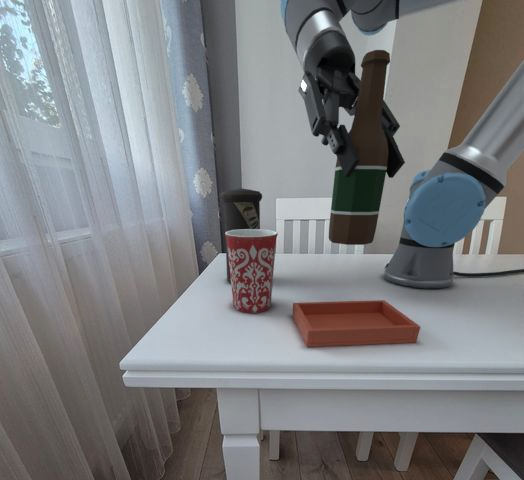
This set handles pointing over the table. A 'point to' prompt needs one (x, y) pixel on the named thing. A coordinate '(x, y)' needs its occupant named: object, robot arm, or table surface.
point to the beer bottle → (363, 161)
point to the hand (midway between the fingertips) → (375, 169)
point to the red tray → (353, 323)
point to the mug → (251, 268)
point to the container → (240, 213)
